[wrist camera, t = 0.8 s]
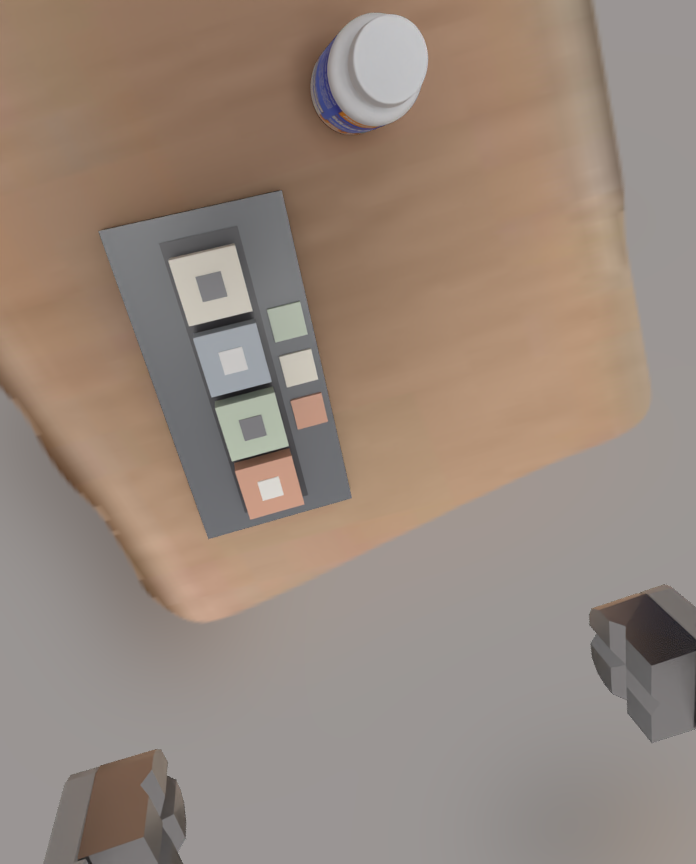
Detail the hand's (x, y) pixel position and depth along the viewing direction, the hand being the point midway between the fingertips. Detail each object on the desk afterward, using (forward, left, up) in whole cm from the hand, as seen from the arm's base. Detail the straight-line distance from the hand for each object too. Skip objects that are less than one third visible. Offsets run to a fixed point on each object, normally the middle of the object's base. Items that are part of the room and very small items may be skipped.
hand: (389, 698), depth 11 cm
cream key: (-3, -2, -33) cm, 33 cm away
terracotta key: (+12, -2, -33) cm, 35 cm away
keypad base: (+4, -2, -36) cm, 36 cm away
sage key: (+7, -2, -33) cm, 34 cm away
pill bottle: (-13, +10, -36) cm, 39 cm away
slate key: (+2, -2, -33) cm, 33 cm away
